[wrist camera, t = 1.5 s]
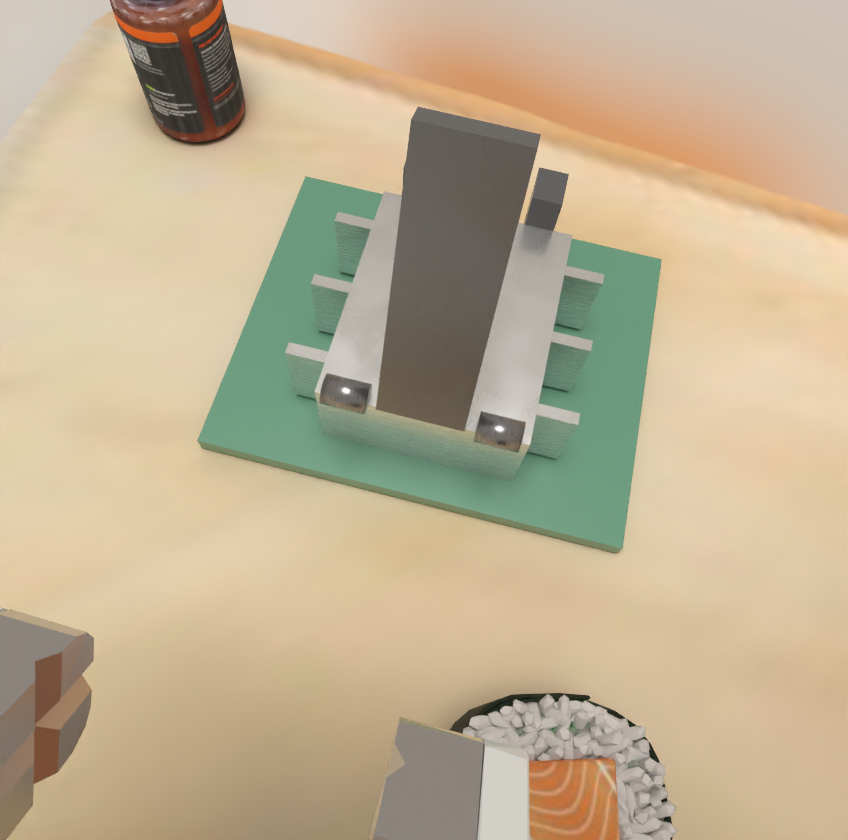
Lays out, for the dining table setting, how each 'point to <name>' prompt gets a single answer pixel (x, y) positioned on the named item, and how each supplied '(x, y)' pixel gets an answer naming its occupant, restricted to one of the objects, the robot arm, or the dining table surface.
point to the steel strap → (450, 261)
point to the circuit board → (420, 479)
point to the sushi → (580, 767)
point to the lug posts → (544, 199)
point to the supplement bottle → (184, 64)
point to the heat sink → (501, 367)
